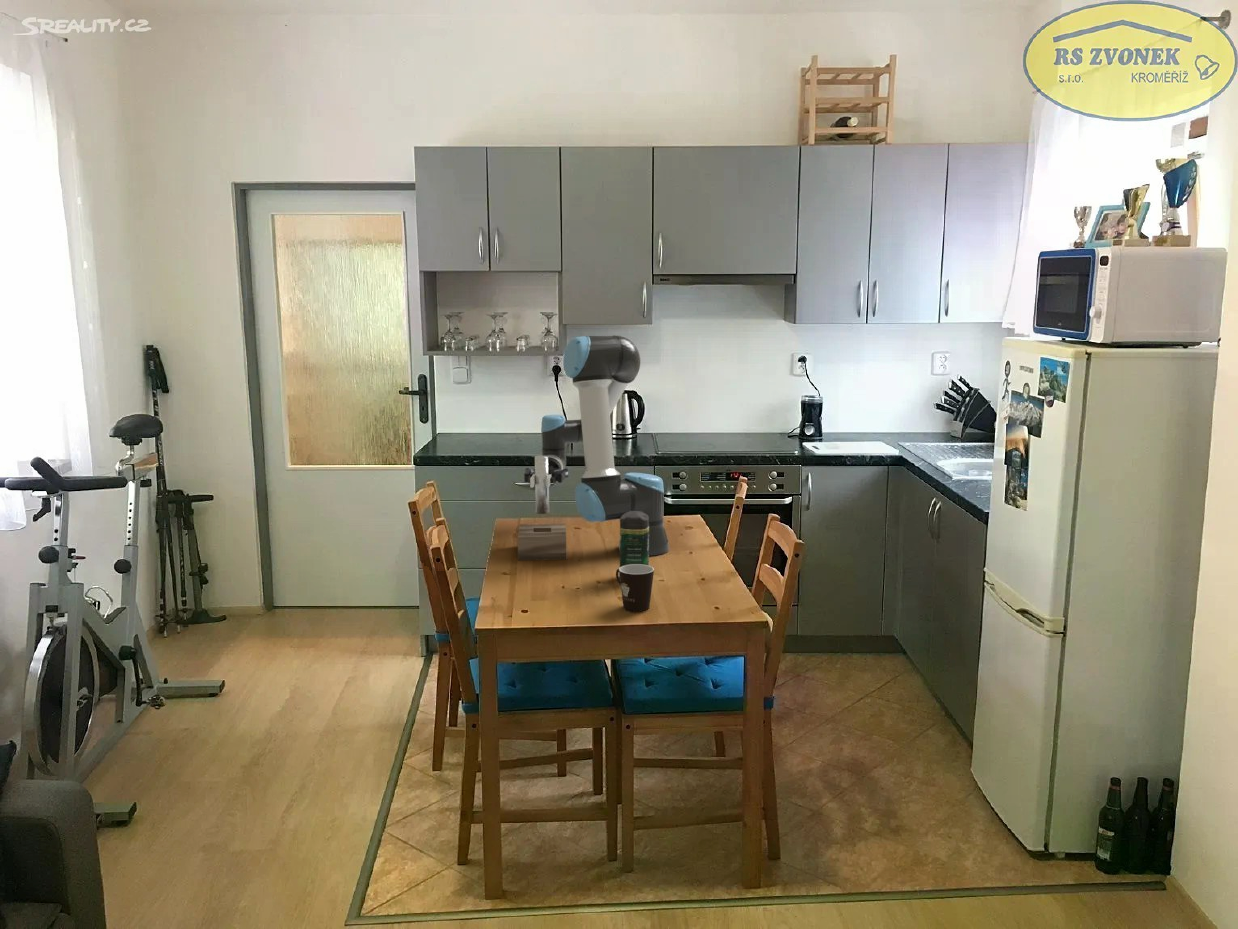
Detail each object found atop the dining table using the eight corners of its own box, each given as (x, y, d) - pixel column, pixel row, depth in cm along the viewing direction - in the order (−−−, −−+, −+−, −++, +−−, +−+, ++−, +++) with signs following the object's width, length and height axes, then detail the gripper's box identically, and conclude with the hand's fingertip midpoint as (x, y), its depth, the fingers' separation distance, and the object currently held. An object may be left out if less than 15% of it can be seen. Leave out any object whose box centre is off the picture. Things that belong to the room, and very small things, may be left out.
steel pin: (551, 512, 289) (550, 456, 286) (540, 514, 286) (539, 457, 284) (544, 510, 292) (543, 454, 289) (533, 512, 290) (532, 456, 287)
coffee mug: (657, 612, 236) (657, 573, 234) (623, 615, 234) (623, 575, 232) (646, 598, 247) (646, 560, 245) (613, 600, 245) (613, 562, 243)
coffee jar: (647, 585, 258) (648, 517, 254) (618, 584, 258) (618, 516, 255) (650, 574, 267) (650, 508, 264) (621, 573, 268) (621, 508, 265)
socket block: (566, 559, 282) (566, 536, 281) (518, 560, 281) (517, 537, 280) (565, 545, 298) (565, 523, 297) (520, 546, 297) (519, 523, 296)
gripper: (576, 480, 305) (568, 495, 282) (523, 480, 306) (510, 495, 283) (576, 457, 304) (568, 470, 281) (522, 456, 305) (510, 470, 282)
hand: (539, 483), depth 282 cm, fingers closed on steel pin, 4 cm apart
